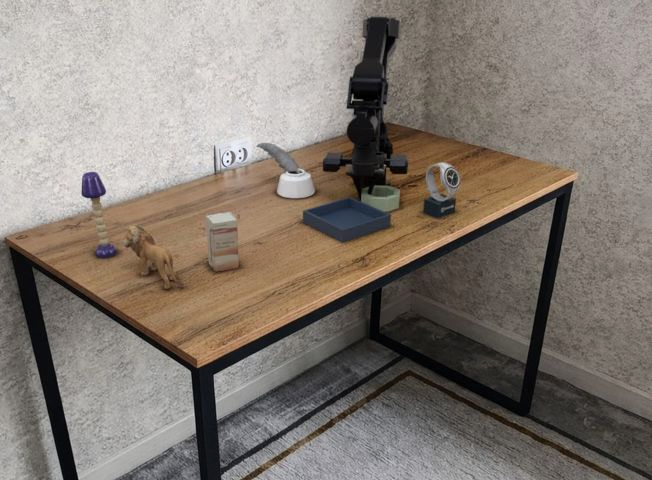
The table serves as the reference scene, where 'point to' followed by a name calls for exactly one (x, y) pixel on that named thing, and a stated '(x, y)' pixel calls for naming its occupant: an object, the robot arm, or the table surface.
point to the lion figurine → (150, 253)
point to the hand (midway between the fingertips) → (364, 199)
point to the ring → (382, 198)
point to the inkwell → (290, 174)
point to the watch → (440, 202)
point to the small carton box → (222, 241)
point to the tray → (346, 219)
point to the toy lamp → (97, 211)
